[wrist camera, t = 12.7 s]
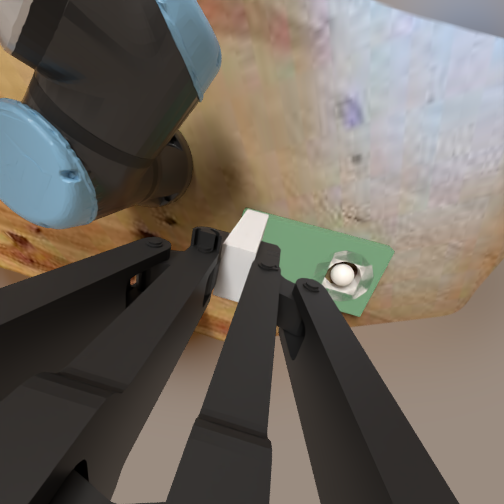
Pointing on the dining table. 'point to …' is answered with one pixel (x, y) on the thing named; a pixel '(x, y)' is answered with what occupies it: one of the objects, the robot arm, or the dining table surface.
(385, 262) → the green
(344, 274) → the ball
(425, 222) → the dining table surface
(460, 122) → the dining table surface
